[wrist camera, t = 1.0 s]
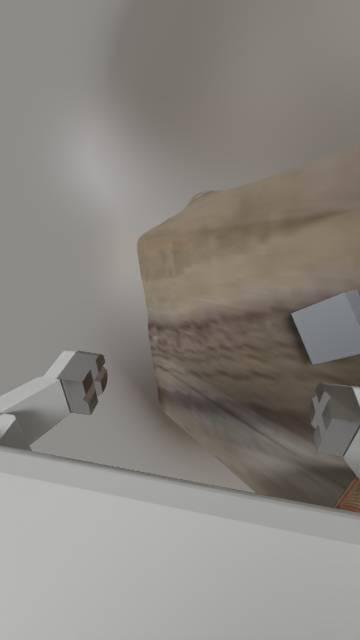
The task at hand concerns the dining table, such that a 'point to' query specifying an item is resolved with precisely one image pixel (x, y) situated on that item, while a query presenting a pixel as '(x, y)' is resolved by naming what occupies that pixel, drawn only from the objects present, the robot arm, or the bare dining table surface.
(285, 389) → the dining table surface
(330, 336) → the slate grey base block
